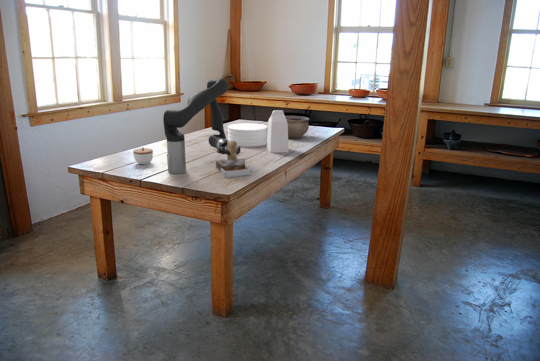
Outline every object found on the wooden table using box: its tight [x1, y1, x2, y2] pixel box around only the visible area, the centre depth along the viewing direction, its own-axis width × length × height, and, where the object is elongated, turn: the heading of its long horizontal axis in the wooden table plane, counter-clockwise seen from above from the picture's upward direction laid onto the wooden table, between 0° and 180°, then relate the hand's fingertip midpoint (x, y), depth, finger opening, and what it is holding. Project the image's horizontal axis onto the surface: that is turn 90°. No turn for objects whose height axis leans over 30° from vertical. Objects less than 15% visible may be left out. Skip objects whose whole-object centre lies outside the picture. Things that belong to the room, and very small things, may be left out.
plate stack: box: [227, 122, 268, 148], centre depth 304 cm, size 28×28×12 cm
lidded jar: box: [132, 146, 154, 165], centre depth 246 cm, size 11×11×9 cm
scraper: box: [222, 141, 246, 166], centre depth 229 cm, size 12×6×12 cm, turn 111°
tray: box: [220, 165, 252, 178], centre depth 227 cm, size 14×8×3 cm, turn 111°
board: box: [215, 159, 246, 173], centre depth 236 cm, size 13×12×4 cm
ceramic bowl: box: [285, 115, 310, 139], centre depth 322 cm, size 22×22×15 cm
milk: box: [266, 109, 289, 154], centre depth 278 cm, size 12×12×26 cm
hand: (233, 153), depth 227 cm, fingers closed on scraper, 4 cm apart
